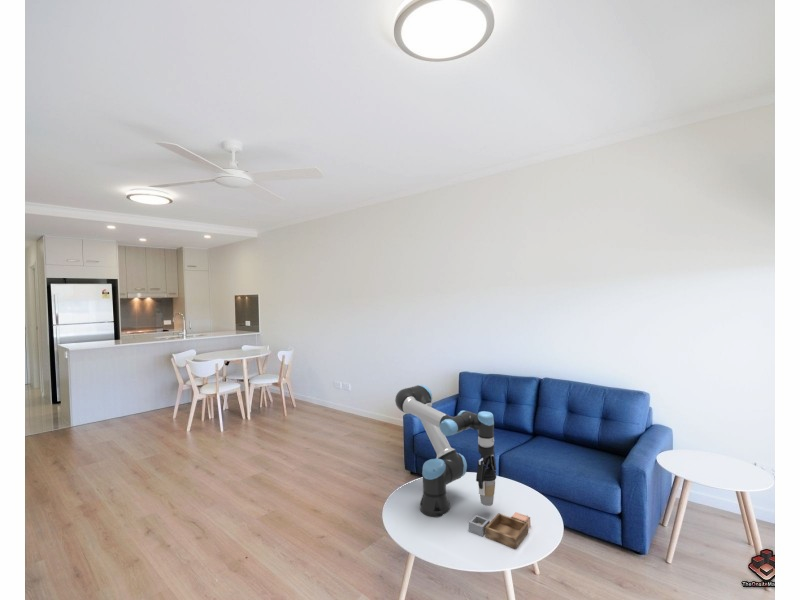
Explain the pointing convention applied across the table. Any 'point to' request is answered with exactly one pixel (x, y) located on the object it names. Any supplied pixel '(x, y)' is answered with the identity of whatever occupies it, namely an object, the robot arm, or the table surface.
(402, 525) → the table surface
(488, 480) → the coffee cup
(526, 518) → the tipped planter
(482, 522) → the grey tub
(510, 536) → the walnut box
